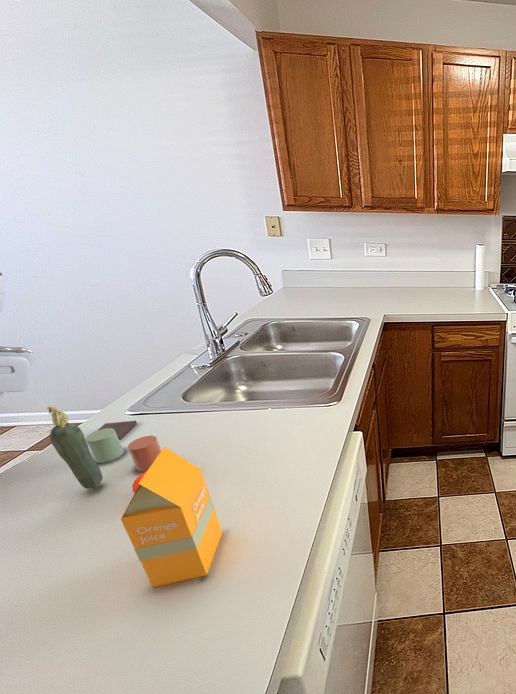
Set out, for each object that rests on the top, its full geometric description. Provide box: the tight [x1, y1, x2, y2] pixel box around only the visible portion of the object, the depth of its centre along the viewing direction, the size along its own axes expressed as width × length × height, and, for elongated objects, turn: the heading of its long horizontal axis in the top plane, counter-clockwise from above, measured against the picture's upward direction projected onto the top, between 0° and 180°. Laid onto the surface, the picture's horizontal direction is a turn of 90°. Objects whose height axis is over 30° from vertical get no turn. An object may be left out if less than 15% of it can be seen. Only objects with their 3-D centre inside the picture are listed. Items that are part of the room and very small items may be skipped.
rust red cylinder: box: [127, 435, 162, 473], centre depth 88 cm, size 5×5×6 cm
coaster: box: [96, 420, 138, 441], centre depth 100 cm, size 7×7×1 cm
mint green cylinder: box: [85, 428, 125, 464], centre depth 90 cm, size 5×5×6 cm
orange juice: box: [120, 446, 223, 588], centre depth 63 cm, size 8×9×20 cm
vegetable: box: [46, 406, 103, 490], centre depth 78 cm, size 4×4×20 cm
